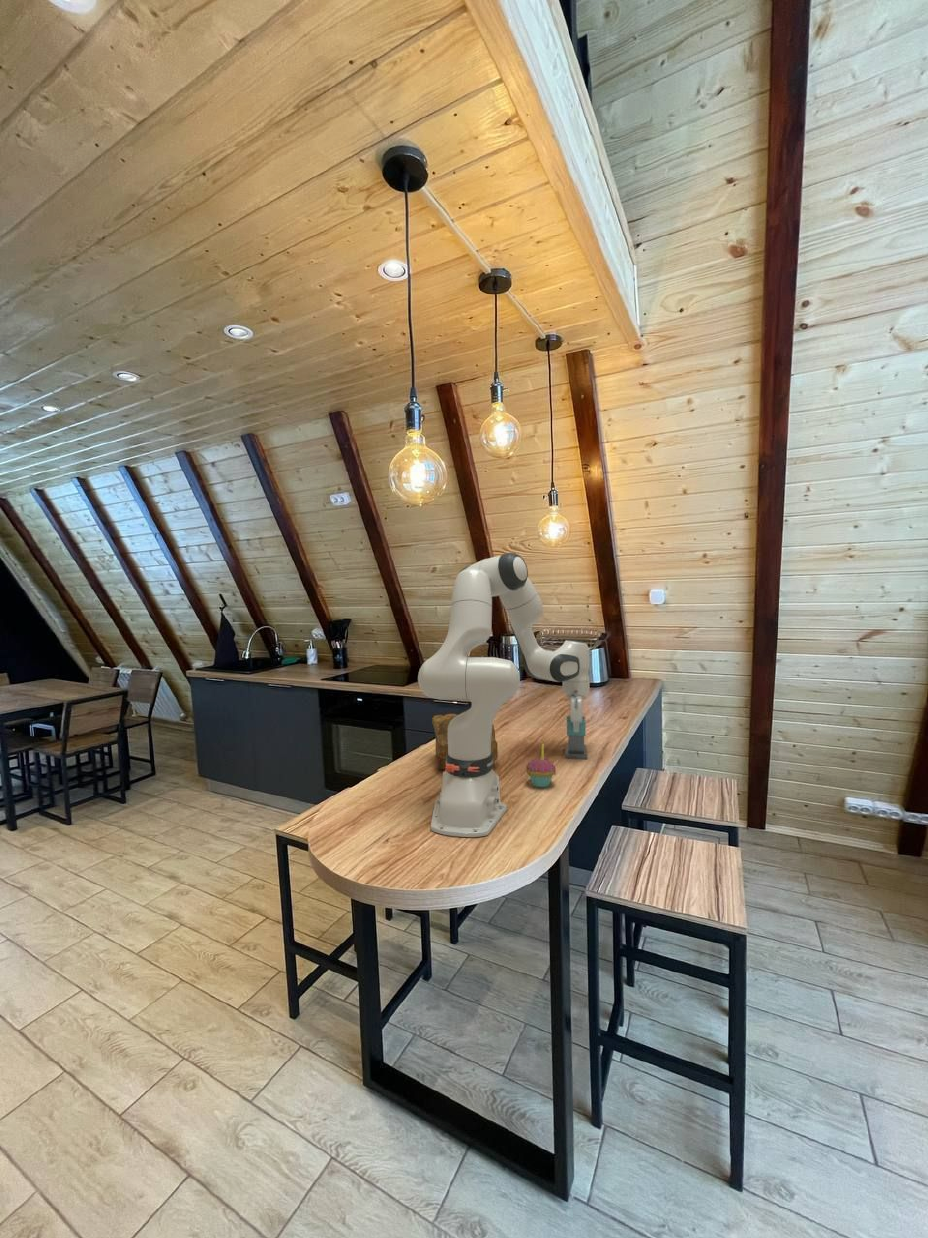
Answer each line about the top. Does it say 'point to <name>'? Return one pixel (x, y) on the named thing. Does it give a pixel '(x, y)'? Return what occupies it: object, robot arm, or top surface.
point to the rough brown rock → (442, 739)
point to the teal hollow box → (581, 728)
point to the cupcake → (541, 771)
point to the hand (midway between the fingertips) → (576, 728)
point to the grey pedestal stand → (576, 748)
